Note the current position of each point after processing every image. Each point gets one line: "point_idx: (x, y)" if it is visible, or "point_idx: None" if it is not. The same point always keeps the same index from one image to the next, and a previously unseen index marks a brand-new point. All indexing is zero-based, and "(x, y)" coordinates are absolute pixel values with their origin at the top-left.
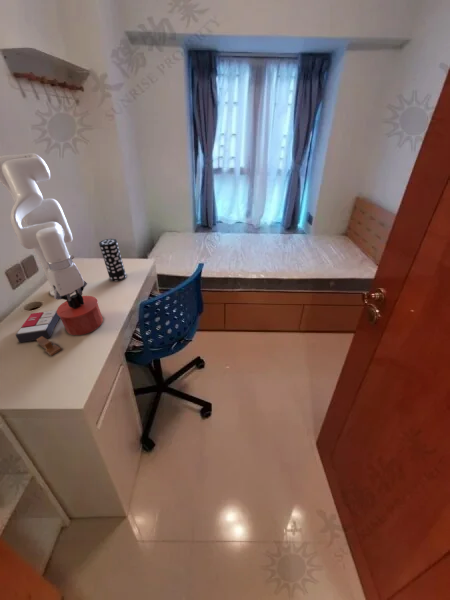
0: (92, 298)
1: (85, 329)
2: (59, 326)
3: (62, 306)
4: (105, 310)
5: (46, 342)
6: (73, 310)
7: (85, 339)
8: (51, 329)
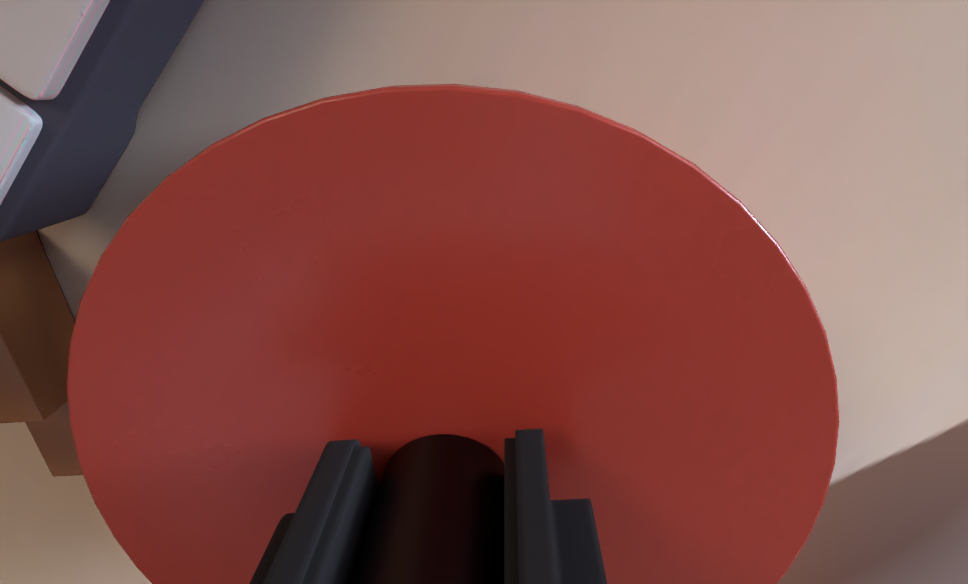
0: (775, 485)
1: None
2: (236, 73)
3: (216, 261)
4: (787, 254)
5: (2, 404)
6: None
7: None
8: (109, 135)
